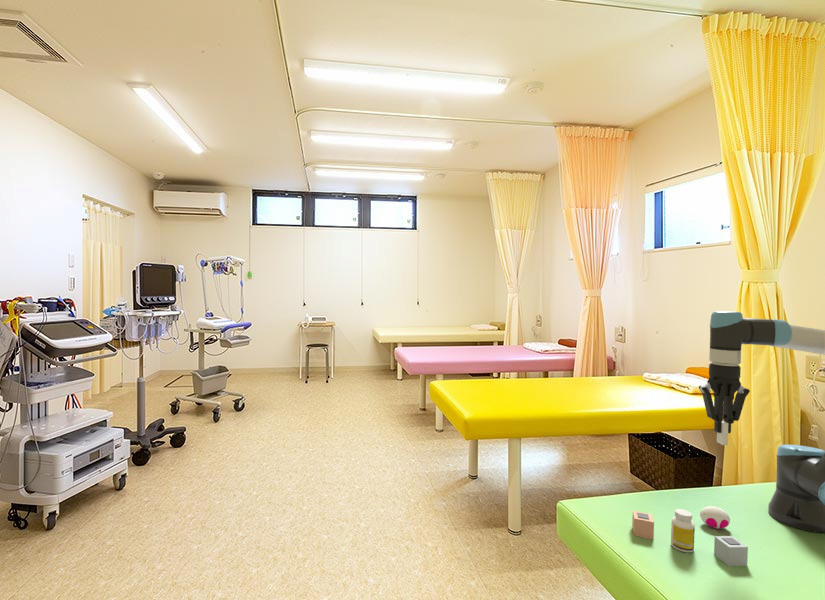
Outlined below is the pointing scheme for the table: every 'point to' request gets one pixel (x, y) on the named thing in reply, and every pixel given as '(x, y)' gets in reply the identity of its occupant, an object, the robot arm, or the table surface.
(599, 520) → the table surface
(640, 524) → the terracotta block
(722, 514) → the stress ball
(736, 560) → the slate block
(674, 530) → the supplement bottle
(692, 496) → the table surface
